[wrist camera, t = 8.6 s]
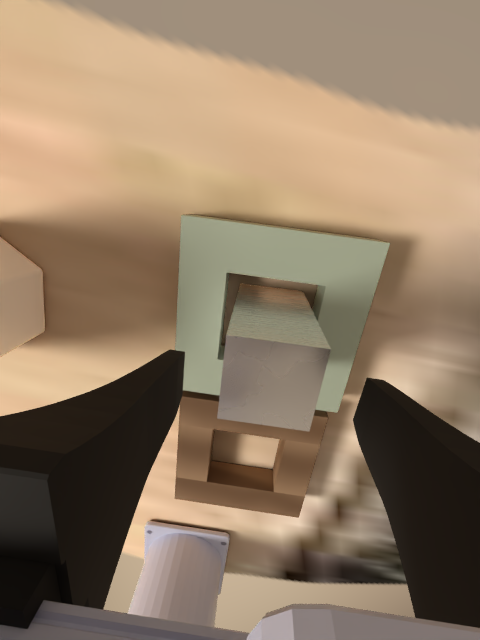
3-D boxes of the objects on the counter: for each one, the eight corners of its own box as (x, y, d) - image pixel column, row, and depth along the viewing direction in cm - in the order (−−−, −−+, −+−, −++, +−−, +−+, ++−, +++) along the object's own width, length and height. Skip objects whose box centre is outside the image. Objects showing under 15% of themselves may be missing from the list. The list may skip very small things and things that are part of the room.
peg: (291, 347, 20) (309, 431, 12) (233, 339, 20) (217, 418, 12) (302, 291, 18) (330, 349, 11) (240, 283, 18) (226, 334, 11)
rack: (330, 394, 21) (337, 412, 19) (181, 372, 21) (173, 388, 19) (375, 239, 17) (390, 243, 15) (190, 214, 17) (181, 214, 15)
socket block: (295, 494, 25) (298, 517, 23) (181, 477, 25) (174, 498, 23) (322, 399, 21) (328, 417, 19) (187, 379, 21) (180, 396, 19)
